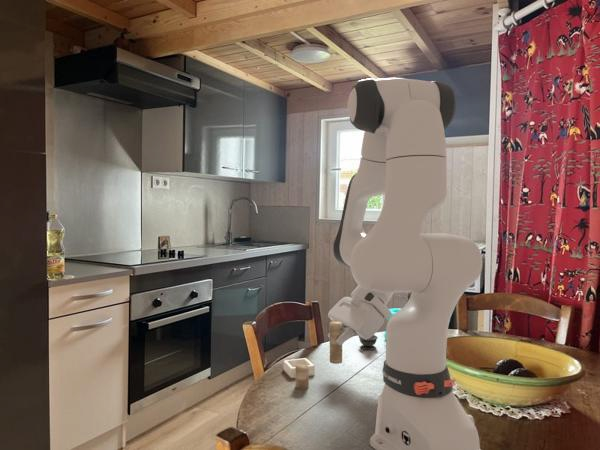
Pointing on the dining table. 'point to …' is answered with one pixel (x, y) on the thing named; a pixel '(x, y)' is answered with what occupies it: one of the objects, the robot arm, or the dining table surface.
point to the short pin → (302, 377)
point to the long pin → (334, 347)
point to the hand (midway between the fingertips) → (333, 340)
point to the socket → (291, 365)
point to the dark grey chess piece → (368, 343)
